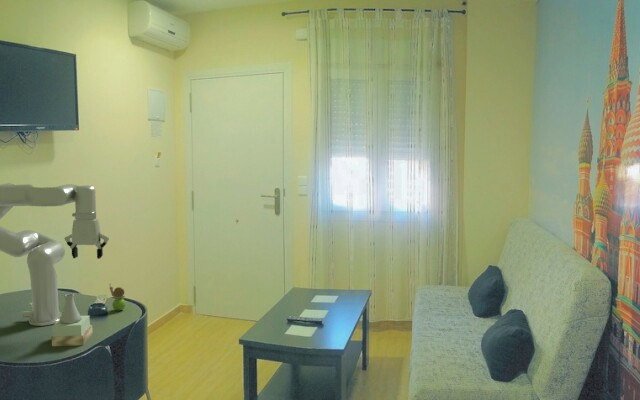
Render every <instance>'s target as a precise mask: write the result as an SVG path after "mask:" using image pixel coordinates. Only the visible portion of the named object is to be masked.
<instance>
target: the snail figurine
mask: <svg viewBox="0 0 640 400" xmlns="http://www.w3.org/2000/svg"><path fill="white" fill-rule="evenodd" d="M108 285H109V290H110V293H111V296H112V297H113V298H114V300H113V301H112V308H113V309H114V310H115V311H118V312H119V311H123V310H124V309H125V307H126V301H125V299H124V298H125V290H124V288H122V287H121V286H120V287H119V286H118V287H116V288H114V287H113V286H112V284H111V283H109V284H108Z"/></svg>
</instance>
